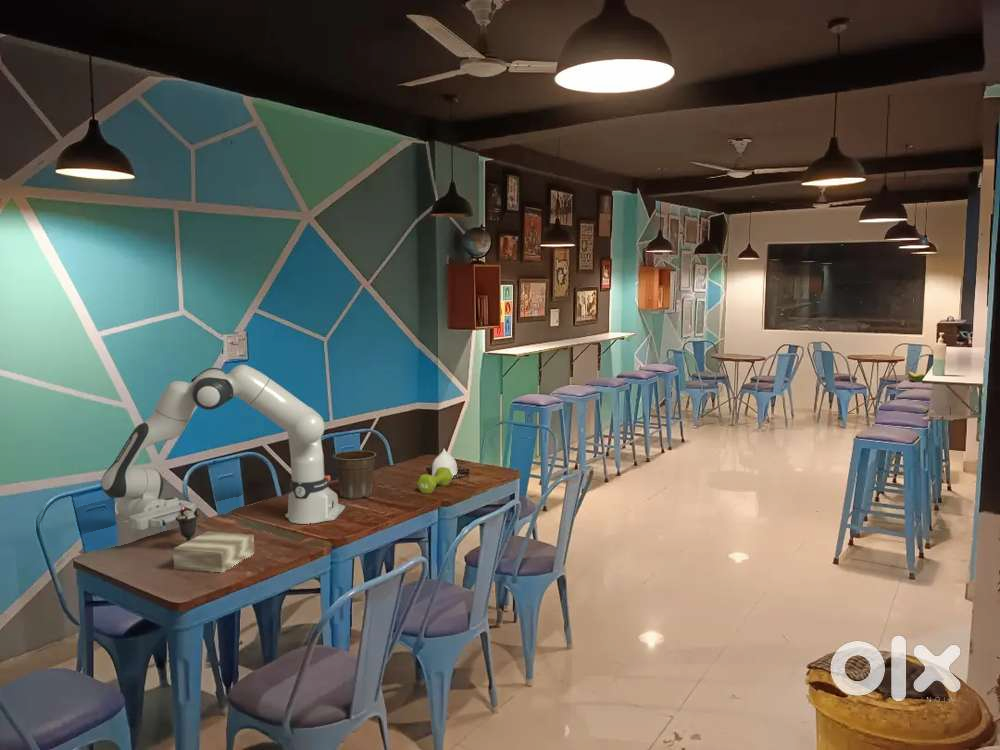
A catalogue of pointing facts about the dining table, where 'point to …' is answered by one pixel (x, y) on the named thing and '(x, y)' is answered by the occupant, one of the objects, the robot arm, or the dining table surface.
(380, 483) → the dining table surface
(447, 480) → the dumbbell
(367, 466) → the plant pot
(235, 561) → the cream block
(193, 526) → the sundae
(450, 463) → the teardrop
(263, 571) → the dining table surface
